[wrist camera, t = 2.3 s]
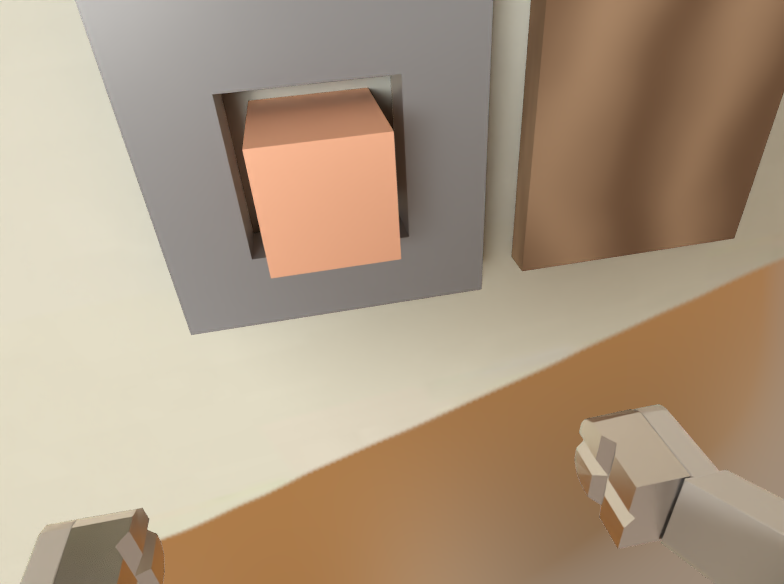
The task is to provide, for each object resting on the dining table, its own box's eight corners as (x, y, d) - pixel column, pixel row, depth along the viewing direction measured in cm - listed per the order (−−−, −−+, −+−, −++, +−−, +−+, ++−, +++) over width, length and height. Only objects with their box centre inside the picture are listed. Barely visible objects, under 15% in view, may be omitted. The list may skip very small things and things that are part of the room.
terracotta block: (367, 87, 23) (393, 131, 18) (376, 195, 26) (401, 259, 21) (248, 100, 23) (242, 149, 18) (270, 210, 25) (271, 278, 21)
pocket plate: (473, -46, 21) (494, -42, 19) (466, 263, 29) (481, 289, 27) (93, -14, 19) (72, -7, 17) (197, 304, 27) (191, 334, 25)
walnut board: (827, -135, 22) (861, -138, 20) (715, 225, 31) (733, 238, 29) (539, -115, 20) (557, -117, 19) (511, 256, 29) (522, 271, 28)
